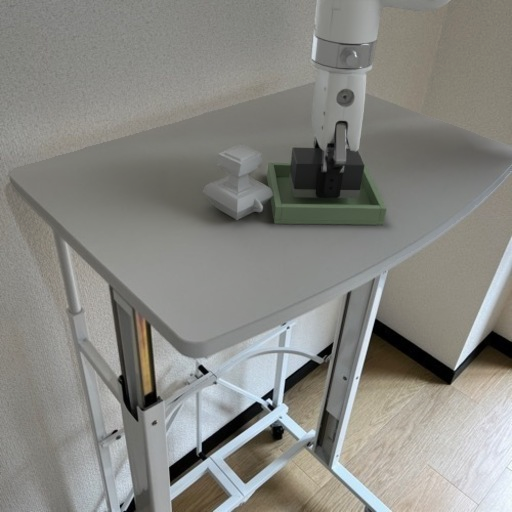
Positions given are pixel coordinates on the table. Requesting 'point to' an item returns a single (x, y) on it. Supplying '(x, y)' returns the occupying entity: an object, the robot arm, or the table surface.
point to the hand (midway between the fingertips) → (324, 184)
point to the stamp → (238, 183)
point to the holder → (323, 202)
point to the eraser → (308, 166)
